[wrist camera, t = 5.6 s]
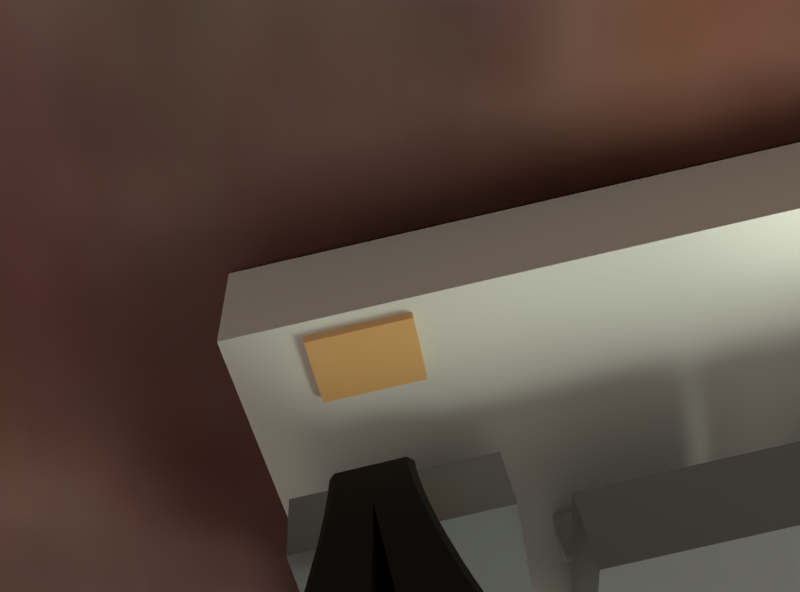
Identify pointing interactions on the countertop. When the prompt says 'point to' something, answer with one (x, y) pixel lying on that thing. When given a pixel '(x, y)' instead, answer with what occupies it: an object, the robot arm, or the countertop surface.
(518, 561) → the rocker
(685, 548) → the rocker middle
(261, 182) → the countertop surface
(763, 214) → the switch unit
